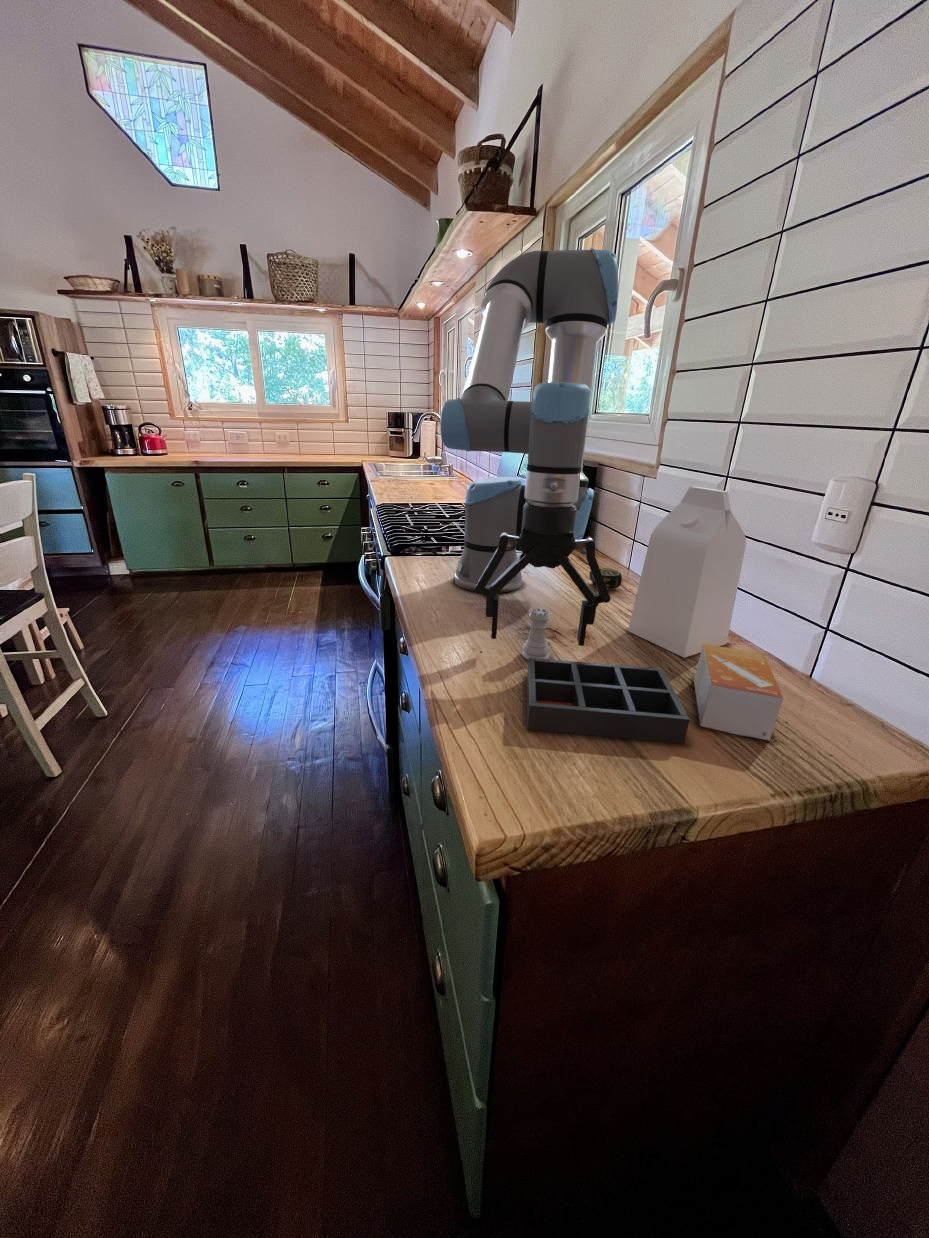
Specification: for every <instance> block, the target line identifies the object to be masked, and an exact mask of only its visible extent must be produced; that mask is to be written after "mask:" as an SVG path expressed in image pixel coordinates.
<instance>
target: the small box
mask: <svg viewBox="0 0 929 1238" xmlns="http://www.w3.org/2000/svg"><path fill="white" fill-rule="evenodd" d="M699 654H700V655H699V659H698V663H697V666H696V671H695V675H694V679H693V683H694V692H695V697H696V705H697V712H698V720H699V726H700V727H703V728H705V729H711V730H715V731H720V732H723V733H729V734H732V735H737V736H743V737H748V738H754V739H760V740H765V741H771V738H772V735H773V731H774V728H775V725H776V722H777V718H778V715H779V713H780V709H781V707H782V703H783V700H784V697H783V695H782V692H781V690H780V687H779V686H778V683H777V680H776V678H775V676H774V674H773V671H772V669H771V667H770V664H769V663H768V660H767V658H766V655H765V653H763V652H756V651H749V650H742V649H735V648H729V647H726V646H725V647H724V646H713V645H707V644H703V646H702V650H701V652H700V653H699Z"/></svg>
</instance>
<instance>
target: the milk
mask: <svg viewBox="0 0 929 1238" xmlns="http://www.w3.org/2000/svg"><path fill="white" fill-rule="evenodd" d="M731 509H732V507H731V503H730V495H729V491H728V490H721V489H714V488H708V487H703V486H702V487H701V486H694V485H693V486H689V487H688V489H687V490H686V492H685V494H684V495H683V497H682V499H681V500H680V503H678V504H677V505H676V506H675V507H674V508H673V509H672V510H671V511H670V512H668V514H667V515H666V516H665V517H663V519H662V520H661V521H660V522H659V523H658V524H657V525H656V526H655V528H654V529H653V530H652V532H651V534H650V537H649V541H648V545H647V549H646V554H645V558H644V561H643V566H642V570H641V575H640V578H639V582H638V586H637V591H636V596H635V600H634V603H633V607H632V612H631V617H630V620H629V625H628V627H627V628H628V629H627V632H628V633H631V634H634V635H635V636H637V637H640V638H642V639H644V640H646V641H647V642H650V643H652V644H654V645H656V646H658V647H660V648H663V649H665V650H667V651H669V652H671V653H673V654H675V655H677V656H680V657H682V658H684V659H685V658H687V657H691V656H695V655H697V654H701V650H702V646H703V644H707V645H713V646H719V647H723V646H725V645H727V643H728V640H729V633H730V628H731V622H732V618H733V612H734V607H735V603H736V598H737V593H738V587H739V584H740V583H739V582H740V578H741V572H742V566H743V561H744V556H745V551H746V546H747V538H746V535H745V532H744V530H743V529H742V527H741V525H740V523H739V522H738V520H737V518H736V517H735V515H734V513H733V511H731Z"/></svg>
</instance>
